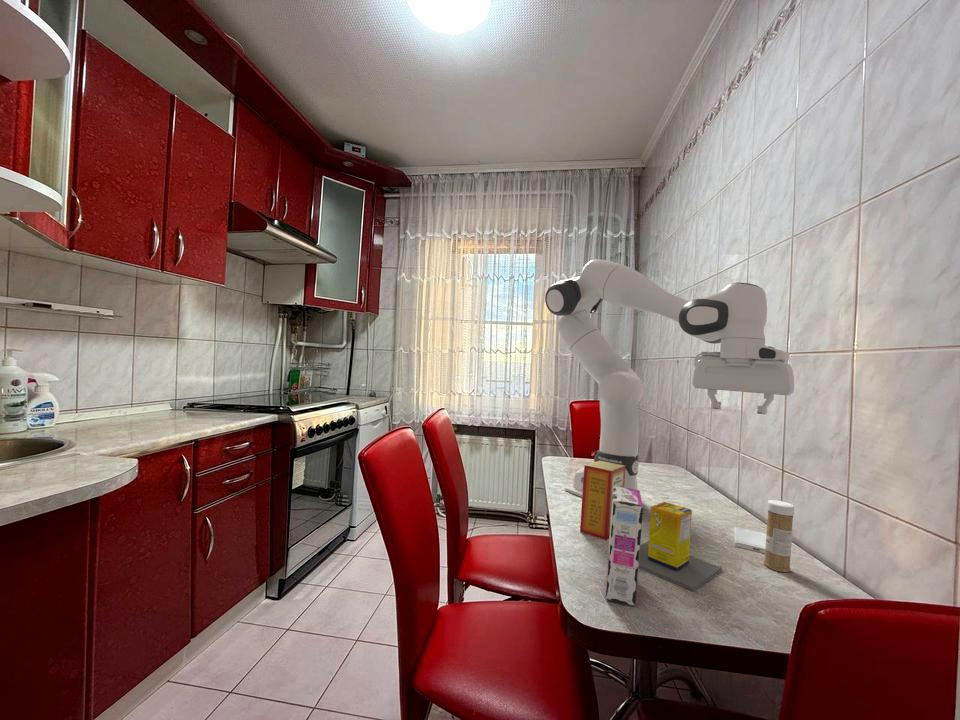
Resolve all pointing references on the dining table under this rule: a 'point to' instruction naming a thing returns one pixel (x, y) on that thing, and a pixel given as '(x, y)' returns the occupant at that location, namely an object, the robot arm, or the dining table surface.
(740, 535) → the hard drive
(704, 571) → the mat
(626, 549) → the candy bar box
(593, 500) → the baking soda box
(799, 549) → the dining table surface
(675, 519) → the supplement box
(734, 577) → the dining table surface
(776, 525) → the sprinkles bottle
